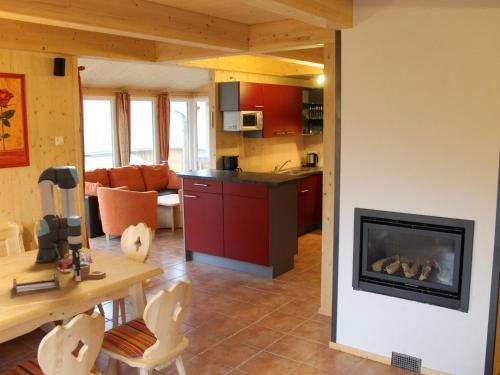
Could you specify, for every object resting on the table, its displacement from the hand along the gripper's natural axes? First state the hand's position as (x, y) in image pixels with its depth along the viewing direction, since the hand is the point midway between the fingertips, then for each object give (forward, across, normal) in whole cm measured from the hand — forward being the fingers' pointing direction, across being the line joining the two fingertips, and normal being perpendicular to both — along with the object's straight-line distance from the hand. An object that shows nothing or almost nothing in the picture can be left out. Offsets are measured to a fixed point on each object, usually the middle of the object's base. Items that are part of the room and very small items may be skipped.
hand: (77, 278), depth 295 cm
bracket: (+1, 0, +8) cm, 8 cm away
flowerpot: (0, -61, -4) cm, 61 cm away
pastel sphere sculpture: (+1, -28, +2) cm, 28 cm away
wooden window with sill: (0, +9, -22) cm, 24 cm away
